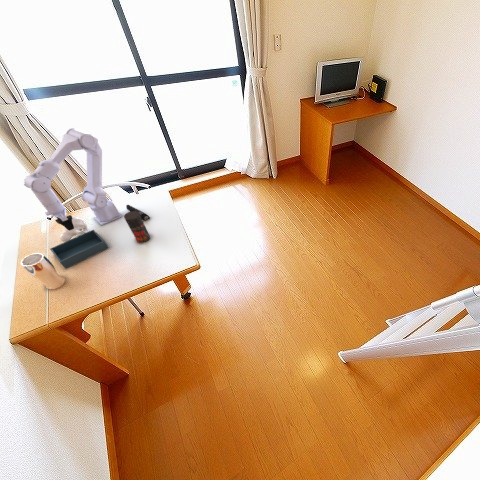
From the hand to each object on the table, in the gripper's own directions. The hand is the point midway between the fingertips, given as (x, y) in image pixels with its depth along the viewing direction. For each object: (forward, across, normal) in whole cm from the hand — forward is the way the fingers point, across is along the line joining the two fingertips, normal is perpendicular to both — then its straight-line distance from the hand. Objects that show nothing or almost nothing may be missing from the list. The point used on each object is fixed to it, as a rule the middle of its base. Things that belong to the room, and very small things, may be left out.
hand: (68, 225), depth 127 cm
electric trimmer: (+7, +4, +27) cm, 28 cm away
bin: (+7, +12, -2) cm, 15 cm away
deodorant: (+7, +24, +20) cm, 32 cm away
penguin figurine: (+7, 0, 0) cm, 7 cm away
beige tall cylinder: (+7, +24, -16) cm, 29 cm away
